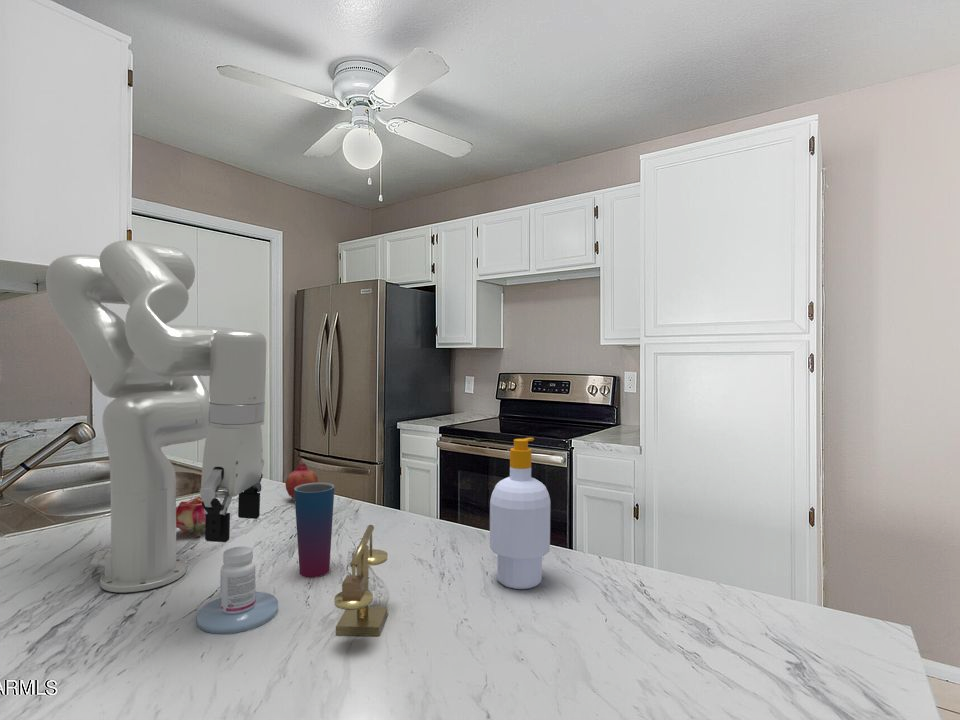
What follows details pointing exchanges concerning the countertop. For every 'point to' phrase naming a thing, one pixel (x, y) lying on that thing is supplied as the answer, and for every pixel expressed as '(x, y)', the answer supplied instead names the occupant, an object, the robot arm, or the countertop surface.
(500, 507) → the soap bottle
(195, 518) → the flower
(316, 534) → the cup
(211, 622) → the saucer
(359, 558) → the balance
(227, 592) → the pill bottle
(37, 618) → the countertop surface
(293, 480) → the fruit
